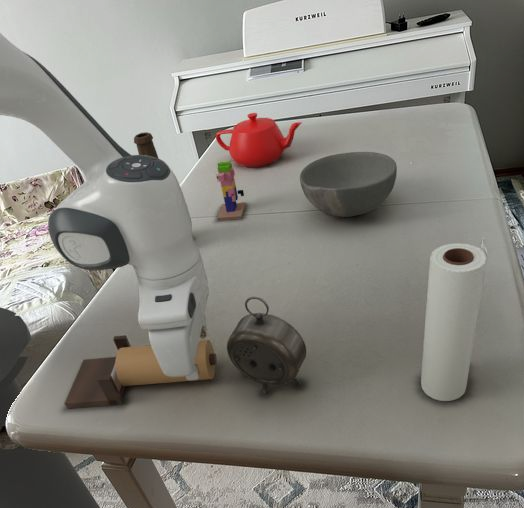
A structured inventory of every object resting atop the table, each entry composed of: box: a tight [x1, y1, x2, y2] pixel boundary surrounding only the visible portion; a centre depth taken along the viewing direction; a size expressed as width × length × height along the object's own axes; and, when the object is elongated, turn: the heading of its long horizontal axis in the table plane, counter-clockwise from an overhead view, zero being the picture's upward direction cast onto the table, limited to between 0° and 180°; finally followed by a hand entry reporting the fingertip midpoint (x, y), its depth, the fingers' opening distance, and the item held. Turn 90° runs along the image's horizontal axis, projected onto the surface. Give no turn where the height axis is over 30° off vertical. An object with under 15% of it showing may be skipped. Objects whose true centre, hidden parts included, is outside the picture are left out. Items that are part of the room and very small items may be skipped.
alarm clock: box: [226, 296, 307, 395], centre depth 73 cm, size 11×5×16 cm, turn 66°
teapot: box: [215, 112, 303, 168], centre depth 140 cm, size 25×16×12 cm, turn 73°
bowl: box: [299, 151, 398, 218], centre depth 111 cm, size 20×20×10 cm
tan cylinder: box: [111, 339, 218, 387], centre depth 80 cm, size 16×8×6 cm, turn 88°
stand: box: [64, 334, 132, 410], centre depth 82 cm, size 9×10×6 cm
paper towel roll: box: [420, 237, 488, 402], centre depth 65 cm, size 7×6×21 cm
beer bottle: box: [133, 131, 160, 159], centre depth 107 cm, size 8×8×24 cm
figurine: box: [215, 160, 247, 221], centre depth 119 cm, size 7×6×12 cm
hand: (198, 355), depth 79 cm, fingers open, 8 cm apart
